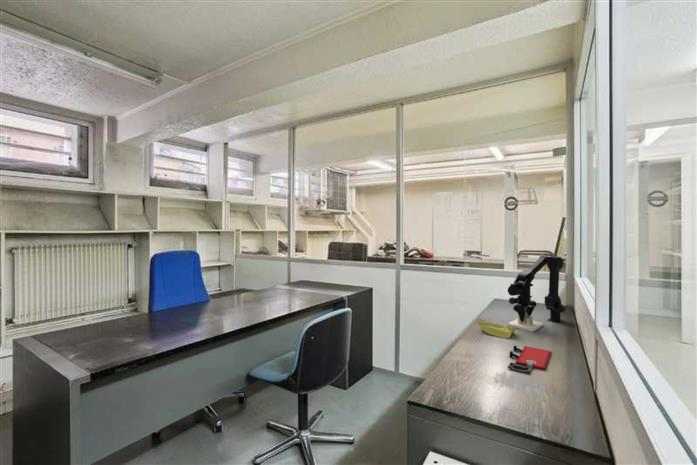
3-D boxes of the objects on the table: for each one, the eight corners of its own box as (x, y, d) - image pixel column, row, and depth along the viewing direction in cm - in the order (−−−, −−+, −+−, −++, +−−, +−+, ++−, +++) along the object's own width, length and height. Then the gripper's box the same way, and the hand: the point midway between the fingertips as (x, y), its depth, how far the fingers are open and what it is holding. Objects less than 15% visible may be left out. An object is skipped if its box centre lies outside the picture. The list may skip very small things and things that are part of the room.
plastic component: (516, 329, 187) (512, 326, 180) (513, 342, 186) (509, 339, 178) (480, 320, 200) (475, 316, 193) (477, 332, 198) (472, 329, 191)
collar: (522, 321, 203) (522, 314, 203) (532, 323, 199) (532, 316, 199) (517, 323, 199) (517, 316, 199) (528, 325, 195) (528, 318, 195)
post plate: (518, 320, 209) (518, 307, 209) (542, 325, 199) (542, 311, 198) (507, 326, 200) (507, 312, 199) (532, 331, 189) (532, 317, 189)
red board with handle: (502, 368, 146) (542, 378, 136) (502, 362, 145) (542, 371, 136) (516, 347, 169) (551, 354, 160) (516, 341, 169) (551, 348, 160)
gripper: (517, 289, 210) (517, 313, 211) (504, 294, 198) (504, 320, 199) (536, 292, 202) (536, 317, 203) (523, 297, 190) (524, 324, 191)
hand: (525, 319), depth 199 cm, fingers open, 9 cm apart
